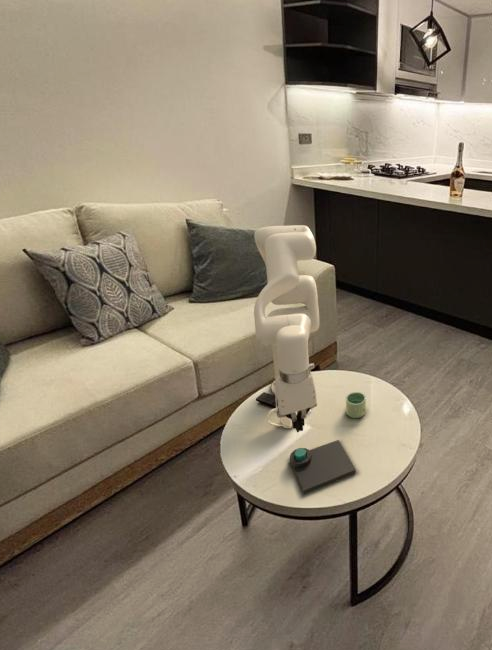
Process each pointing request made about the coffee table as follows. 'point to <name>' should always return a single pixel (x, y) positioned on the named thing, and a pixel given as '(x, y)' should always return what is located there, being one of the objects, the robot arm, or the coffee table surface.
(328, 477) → the scale
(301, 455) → the tare button
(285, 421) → the cup
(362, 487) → the coffee table surface
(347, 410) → the green handleless cup
